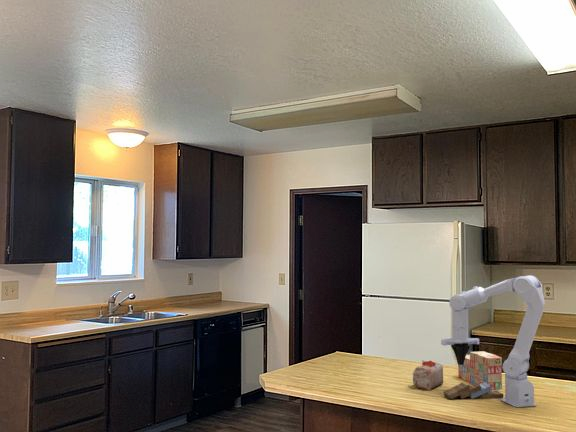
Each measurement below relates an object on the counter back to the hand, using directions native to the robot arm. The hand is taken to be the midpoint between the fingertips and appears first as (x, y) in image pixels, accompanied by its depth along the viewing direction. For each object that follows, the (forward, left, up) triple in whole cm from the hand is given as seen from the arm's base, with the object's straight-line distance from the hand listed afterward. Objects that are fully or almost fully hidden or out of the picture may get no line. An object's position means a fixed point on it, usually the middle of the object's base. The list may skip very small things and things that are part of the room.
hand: (460, 364), depth 211 cm
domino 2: (-5, +4, -10) cm, 12 cm away
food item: (+11, +7, -11) cm, 17 cm away
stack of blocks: (+12, -15, -11) cm, 22 cm away
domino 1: (-5, +9, -10) cm, 14 cm away
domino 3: (-7, -3, -10) cm, 12 cm away
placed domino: (-6, 0, -10) cm, 11 cm away
